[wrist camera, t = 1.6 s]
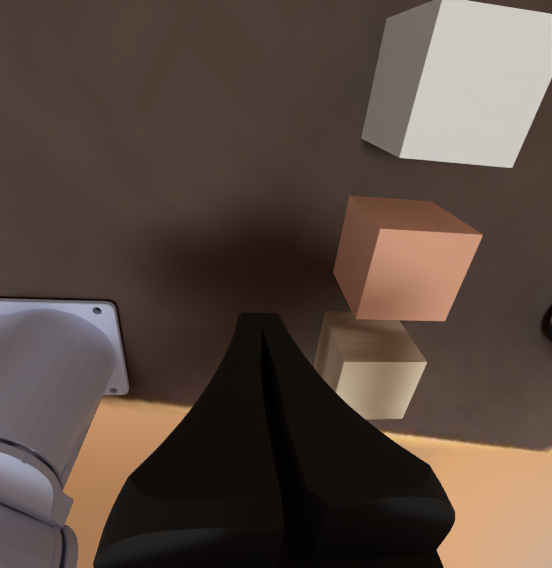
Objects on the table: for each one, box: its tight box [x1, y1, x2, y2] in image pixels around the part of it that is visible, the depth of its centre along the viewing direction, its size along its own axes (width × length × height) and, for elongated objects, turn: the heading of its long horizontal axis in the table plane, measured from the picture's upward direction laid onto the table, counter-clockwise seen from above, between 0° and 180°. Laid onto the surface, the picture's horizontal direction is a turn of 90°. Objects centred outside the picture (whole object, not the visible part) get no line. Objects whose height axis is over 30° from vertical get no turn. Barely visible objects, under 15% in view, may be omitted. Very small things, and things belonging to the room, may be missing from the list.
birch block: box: [314, 311, 427, 419], centre depth 23 cm, size 5×5×5 cm
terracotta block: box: [333, 195, 483, 321], centre depth 19 cm, size 5×5×5 cm
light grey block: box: [361, 0, 552, 168], centre depth 15 cm, size 5×5×5 cm
